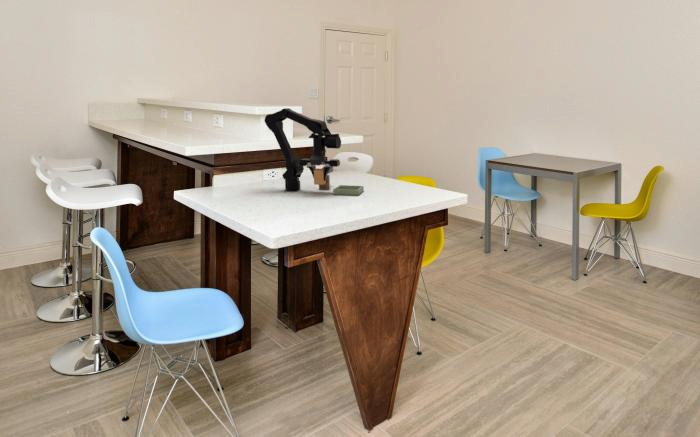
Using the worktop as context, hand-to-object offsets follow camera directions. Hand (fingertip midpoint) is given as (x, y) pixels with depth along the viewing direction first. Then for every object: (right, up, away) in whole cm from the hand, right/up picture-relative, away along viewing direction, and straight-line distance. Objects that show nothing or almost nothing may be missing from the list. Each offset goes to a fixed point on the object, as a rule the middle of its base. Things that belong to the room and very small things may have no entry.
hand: (319, 180), depth 254 cm
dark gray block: (+3, +5, +13) cm, 15 cm away
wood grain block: (+2, -4, +9) cm, 10 cm away
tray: (+14, -6, -1) cm, 15 cm away
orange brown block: (0, -2, 0) cm, 2 cm away
